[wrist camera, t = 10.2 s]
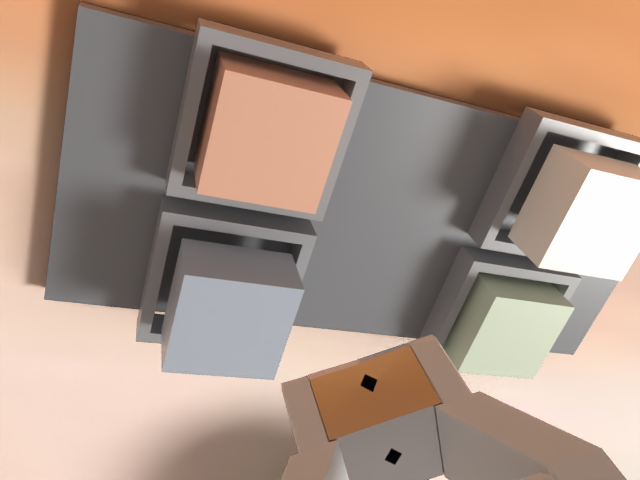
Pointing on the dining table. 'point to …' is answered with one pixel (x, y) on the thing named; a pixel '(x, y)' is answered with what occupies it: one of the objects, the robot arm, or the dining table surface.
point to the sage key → (506, 326)
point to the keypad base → (337, 198)
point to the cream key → (581, 215)
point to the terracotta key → (268, 134)
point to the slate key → (229, 310)
